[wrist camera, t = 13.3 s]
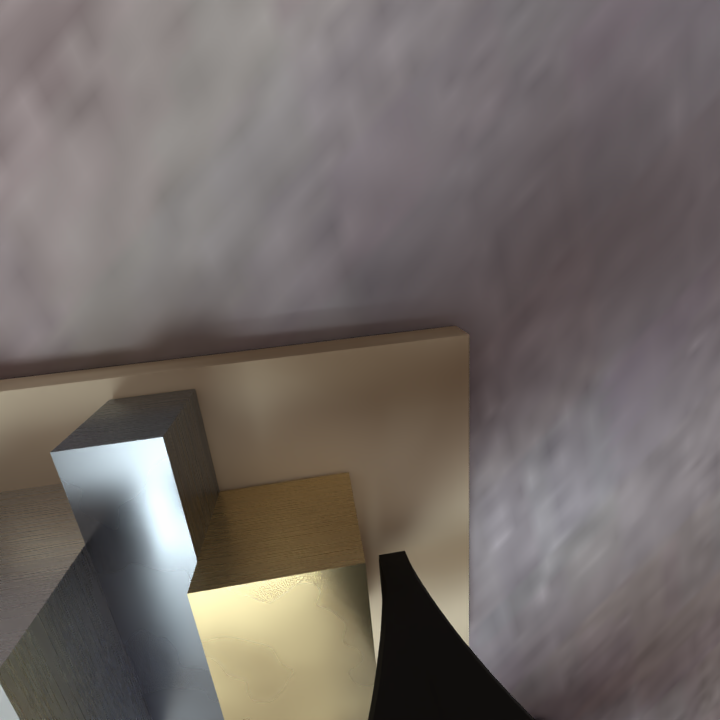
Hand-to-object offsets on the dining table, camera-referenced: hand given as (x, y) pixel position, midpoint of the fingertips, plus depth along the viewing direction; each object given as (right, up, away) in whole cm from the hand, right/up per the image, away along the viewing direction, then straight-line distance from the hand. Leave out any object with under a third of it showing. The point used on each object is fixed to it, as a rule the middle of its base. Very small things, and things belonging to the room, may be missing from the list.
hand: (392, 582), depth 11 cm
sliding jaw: (-4, 0, +1) cm, 4 cm away
